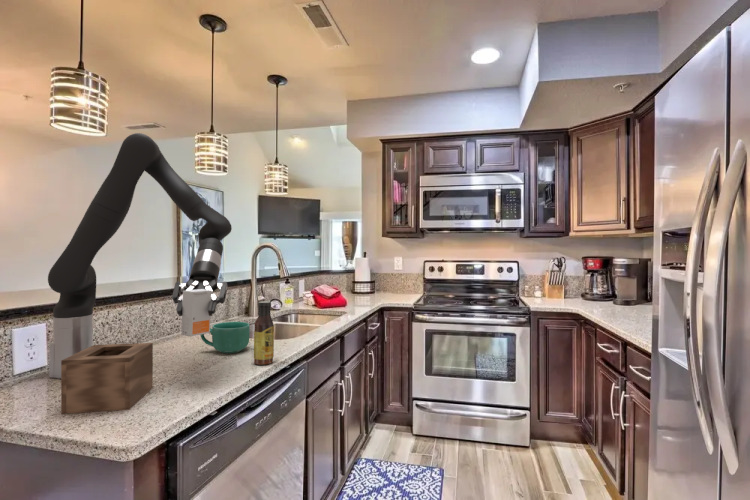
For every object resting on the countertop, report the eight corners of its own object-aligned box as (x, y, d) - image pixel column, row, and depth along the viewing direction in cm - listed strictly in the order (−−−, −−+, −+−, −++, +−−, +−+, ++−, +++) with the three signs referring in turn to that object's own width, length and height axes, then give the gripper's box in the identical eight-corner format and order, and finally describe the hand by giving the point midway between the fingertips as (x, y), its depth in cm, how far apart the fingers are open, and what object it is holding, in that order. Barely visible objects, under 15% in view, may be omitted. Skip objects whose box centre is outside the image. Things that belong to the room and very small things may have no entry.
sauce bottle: (268, 366, 123) (268, 303, 122) (249, 365, 124) (250, 303, 124) (277, 360, 129) (277, 300, 129) (260, 359, 130) (260, 300, 130)
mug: (252, 346, 148) (252, 321, 148) (246, 355, 135) (246, 328, 135) (206, 347, 145) (206, 322, 145) (195, 356, 133) (195, 329, 133)
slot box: (61, 413, 87) (61, 360, 87) (94, 390, 101) (94, 344, 101) (129, 409, 90) (129, 357, 90) (152, 387, 104) (152, 342, 104)
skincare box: (190, 337, 102) (191, 291, 102) (181, 335, 104) (181, 290, 104) (211, 333, 107) (211, 289, 107) (201, 331, 110) (202, 288, 109)
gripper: (177, 259, 112) (162, 306, 100) (230, 259, 114) (221, 305, 103) (182, 276, 117) (169, 322, 105) (233, 276, 120) (225, 321, 108)
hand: (195, 314), depth 104 cm, fingers closed on skincare box, 7 cm apart
